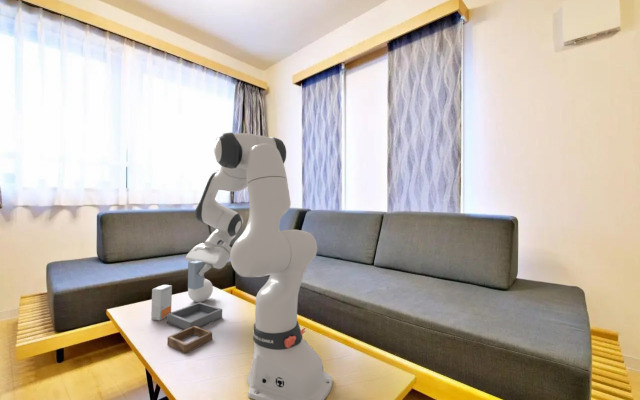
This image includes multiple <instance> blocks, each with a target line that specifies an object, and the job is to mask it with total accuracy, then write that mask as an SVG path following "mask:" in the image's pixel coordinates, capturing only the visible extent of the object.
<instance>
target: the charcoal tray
mask: <svg viewBox="0 0 640 400" xmlns="http://www.w3.org/2000/svg"><path fill="white" fill-rule="evenodd" d="M221 319H223V309H222V308H219V307H217V306H214V305H210V304H208V303H204V302H195V303H193V304H191V305H188V306H185V307H182V308H179V309H177V310H175V311H171V313H168V314H167V317H166V324H168V325H170V326H173V327H176V328H178V329H180V330H182V331H183V330H185V329H187V328H190V327H192V326H194V325H195V326H197V327H200V328H203V327H205V326H207V325H209V324H212V323H214V322H216V321H218V320H221Z"/></svg>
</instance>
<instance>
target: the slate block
mask: <svg viewBox="0 0 640 400" xmlns="http://www.w3.org/2000/svg"><path fill="white" fill-rule="evenodd" d="M187 263H188V264H187V267H188V268H187V289H189V288H190V289H194V290H195V289H198V288H202V287H204V278H205V273H204V274H203V275H202V276H199V275H198V274H197V272H198V271H199V270H201V269H202V268H203V267H204V263H203V261H198V260H196V261H191V262H188V261H187Z"/></svg>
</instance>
